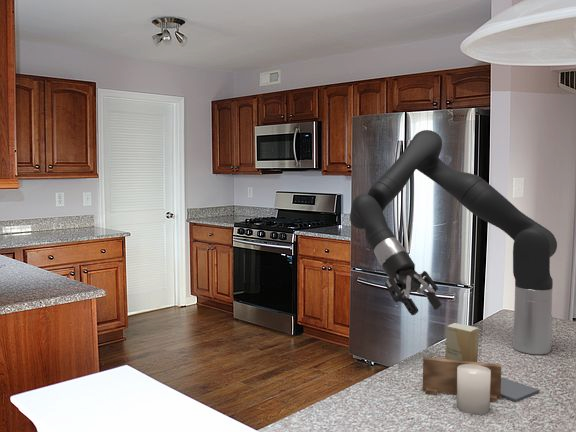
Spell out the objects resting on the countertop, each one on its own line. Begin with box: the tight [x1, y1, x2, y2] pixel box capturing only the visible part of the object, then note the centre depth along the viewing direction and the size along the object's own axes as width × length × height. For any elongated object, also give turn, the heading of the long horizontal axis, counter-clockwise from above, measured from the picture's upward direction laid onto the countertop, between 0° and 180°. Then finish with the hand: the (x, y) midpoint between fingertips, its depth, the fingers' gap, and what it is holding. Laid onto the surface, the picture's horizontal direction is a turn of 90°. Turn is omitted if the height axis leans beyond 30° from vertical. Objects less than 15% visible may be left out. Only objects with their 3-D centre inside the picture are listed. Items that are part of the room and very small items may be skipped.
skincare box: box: [444, 322, 480, 362], centre depth 127 cm, size 6×4×12 cm
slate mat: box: [501, 376, 540, 403], centre depth 119 cm, size 9×9×1 cm
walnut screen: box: [422, 356, 502, 403], centre depth 118 cm, size 16×5×7 cm, turn 72°
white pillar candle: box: [456, 364, 491, 416], centre depth 110 cm, size 6×6×8 cm
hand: (427, 310), depth 135 cm, fingers open, 8 cm apart
